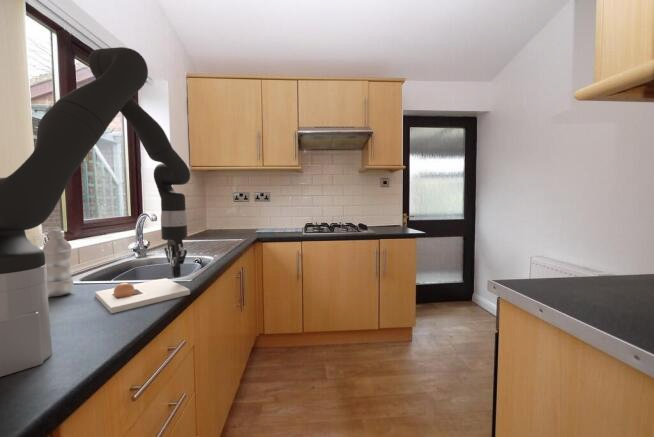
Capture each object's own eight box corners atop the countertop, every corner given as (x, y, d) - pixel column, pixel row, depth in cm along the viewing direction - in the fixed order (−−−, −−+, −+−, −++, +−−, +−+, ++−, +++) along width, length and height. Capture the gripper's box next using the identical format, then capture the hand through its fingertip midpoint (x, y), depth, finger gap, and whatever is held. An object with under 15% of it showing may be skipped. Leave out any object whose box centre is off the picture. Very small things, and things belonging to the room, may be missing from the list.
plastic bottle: (41, 297, 89) (36, 231, 88) (68, 290, 95) (64, 229, 94) (50, 300, 86) (45, 232, 85) (78, 293, 92) (74, 230, 91)
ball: (115, 288, 82) (116, 304, 83) (135, 283, 86) (137, 299, 87) (111, 282, 85) (112, 298, 86) (131, 278, 89) (132, 293, 90)
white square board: (190, 294, 90) (189, 289, 90) (111, 313, 76) (111, 307, 75) (166, 282, 104) (165, 278, 104) (95, 296, 89) (95, 291, 89)
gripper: (194, 224, 94) (196, 277, 95) (178, 223, 103) (180, 271, 104) (169, 226, 88) (171, 282, 89) (154, 224, 97) (156, 275, 98)
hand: (176, 276), depth 97 cm, fingers closed
